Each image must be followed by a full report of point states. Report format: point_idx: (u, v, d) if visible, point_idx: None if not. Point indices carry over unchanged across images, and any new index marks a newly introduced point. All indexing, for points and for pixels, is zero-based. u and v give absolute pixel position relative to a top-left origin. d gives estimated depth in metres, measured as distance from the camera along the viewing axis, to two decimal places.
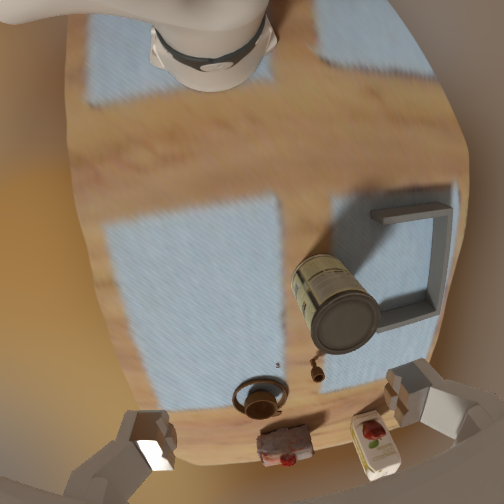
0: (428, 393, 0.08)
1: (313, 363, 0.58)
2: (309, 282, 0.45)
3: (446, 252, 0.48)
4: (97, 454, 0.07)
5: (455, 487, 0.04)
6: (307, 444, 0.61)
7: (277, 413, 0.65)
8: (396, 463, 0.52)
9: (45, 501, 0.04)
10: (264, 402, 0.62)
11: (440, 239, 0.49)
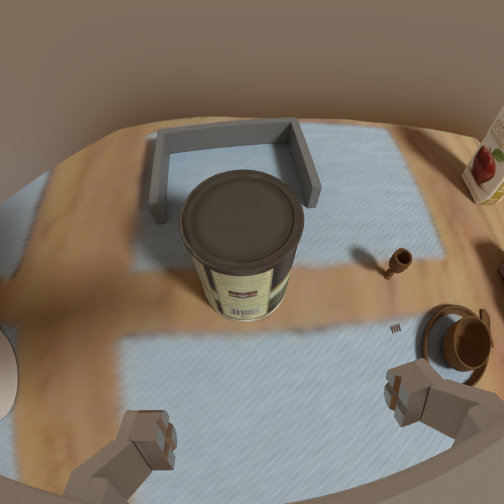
0: (428, 393, 0.08)
1: (388, 272, 0.36)
2: (208, 290, 0.30)
3: (209, 126, 0.45)
4: (97, 454, 0.07)
5: (455, 487, 0.04)
6: None
7: (484, 315, 0.34)
8: None
9: (44, 501, 0.04)
10: (465, 339, 0.32)
11: (197, 137, 0.46)
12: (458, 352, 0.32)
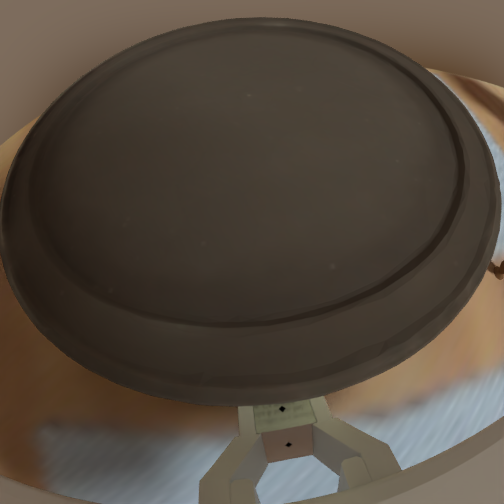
0: (312, 430, 0.08)
1: None
2: None
3: None
4: (224, 455, 0.07)
5: (455, 487, 0.04)
6: None
7: None
8: None
9: (44, 501, 0.04)
10: None
11: None
12: None
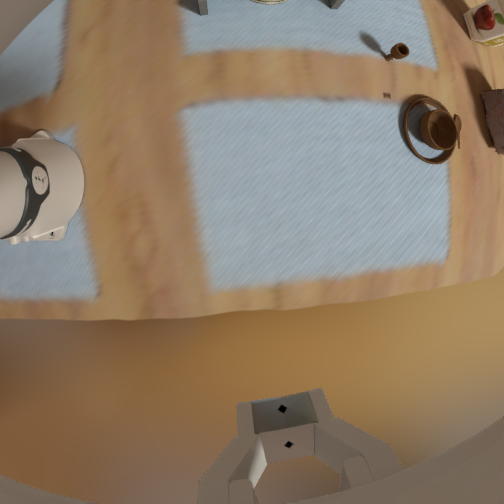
0: (313, 430, 0.08)
1: (388, 56, 0.38)
2: None
3: None
4: (223, 455, 0.07)
5: (455, 487, 0.04)
6: (502, 94, 0.35)
7: (457, 120, 0.43)
8: None
9: (45, 501, 0.04)
10: (438, 127, 0.43)
11: None
12: (431, 133, 0.43)
